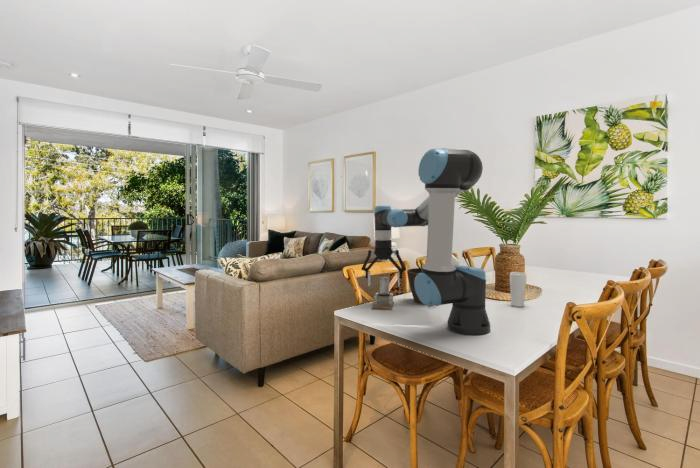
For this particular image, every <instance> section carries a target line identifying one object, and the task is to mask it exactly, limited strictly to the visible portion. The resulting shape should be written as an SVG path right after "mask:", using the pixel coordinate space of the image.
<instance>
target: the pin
mask: <svg viewBox="0 0 700 468" xmlns="http://www.w3.org/2000/svg"><path fill="white" fill-rule="evenodd" d="M389 283H390V282H389V277H388V276H380V277H379V293H380V296H388V297H389V293H390V291H389V289H390V287H389V285H390V284H389Z"/></svg>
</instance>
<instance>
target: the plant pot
mask: <svg viewBox="0 0 700 468" xmlns="http://www.w3.org/2000/svg"><path fill="white" fill-rule="evenodd" d="M406 272H407V279H408V283H409V284H408V285H409V288H410V292H411V294H412V299H413V301H414V303H415V304H419V305H424V304H423V303H422V302H421V301H420V299H419V298H418V296H417V294H416V291H415V286H414V281H415V277H416V276H417V274H419V273H422V267H418V268H417V267H416V268H415V267H414V268H409V269H406Z"/></svg>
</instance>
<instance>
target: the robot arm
mask: <svg viewBox="0 0 700 468" xmlns="http://www.w3.org/2000/svg"><path fill="white" fill-rule="evenodd" d="M418 165H419V166H418V171H417V173H418V177H419V180H420V181H421V183H423V184H424V190H425V191H426V192H427V193H428V194H429V195H428V197H427V198H425V200H423V201H422V203H420V204H419V205H418V206H417V207H416V208H413V209H412V208H411V209H409V208H407V209H406V208H404V209H399V208H397V209H396V208H395V209H392V207H391V206H390V205H377V206H375V207H374V214H373V215H374V238H375V241H374V245H375V246H374V250H371V249H369V250H368V251H367V256H366V259H365V261H364V262H363V265H362V267H361V271H364V273H365V279H367V286H368V287H370V286H371V270H370V269H371V268H372V267H373V265H375V263H376V262H377V261H378V260H379V261H388V260H389V261H390V262H391V264H393V266H394V267H395V268H396V269H397V270H398V271H397V287H400V286H401V285H400V284H401V280H402V279H403V272H405V271H407V268H406V265H405V263H404V260H403V259H402V258H401V255H400V251H399V249H396V250H393V247H392V246H393V243H392V228H403V227H405V228H407V227H408V228H409V227H427V240H426V241H427V243H426V244H427V245H426V261H425V262H424V264H422V265H421V268H422V273H419V274H417V276H416V277H415V281H414V286H415V291H416V294H417V296H418V298H419V299H420V301H421V302H422V303H423V304H422V305H425V306H426V307H434V306H435V307H439V306H442V305H449V304H451V310H450V313H449V315H448V319H447V322H446V323H447V325H446V326H447V329H448V330H450V331H451V332H454V333H456V334H461V335H468V336H469V335H470V336H480V335H486V334H489V333H490V332H491V323H490V319H489V317H488V313H487V309H486V295H487V294H486V292H487V291H486V290H487V289H486V288H487V286H486V285H487V279H486V277H487V276H486V271H485V269H484V268H481V267H480V268H479V267H476V266H475V267H474V266H469V265H467V266H466V265H461V264H459V265H454V266H453V264H452V254H453V240H454V221H455V220H454V219H455V204H456V203H455V201H456V198H457V197H458V196H459V195H460V194H461V193H462V192H465V191H468V190H470V189H471V188H472V187H474V186H475V185H476V184H477V183H478V182H479V181H480V178H481V177H482V174H483V168H484V167H483V162H482V160H481V158H480V156H479V155H478V154H477V153H475V152H474V151H472V150H469V149H456V148H444V147H440V148H430V149H429V150H427V151H426V152H425V153H424V154H423V156H422V157H421V159H420V162H419V164H418ZM393 254H394V255H395V256H396V258H397V260H398V262H399V264H400V265H399V264H398V263H397V261H395V260H394V258H393V257H392V255H393ZM372 255H375V258H373V260H372V262H370V264H368V263H369V261H370V259H371V256H372ZM367 265H368V266H367Z"/></svg>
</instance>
